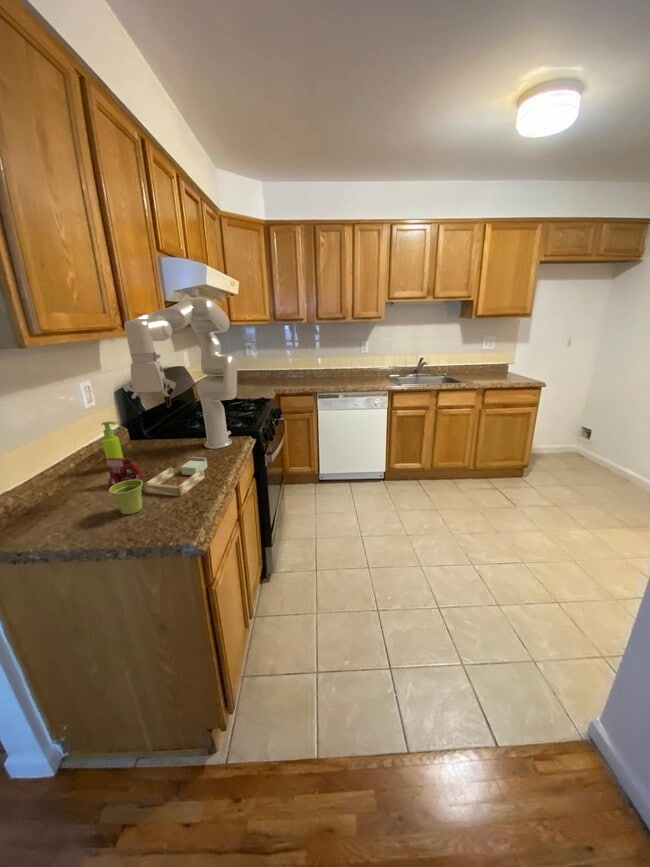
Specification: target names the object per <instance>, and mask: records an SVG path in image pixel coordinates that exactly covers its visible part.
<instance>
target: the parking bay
mask: <svg viewBox="0 0 650 867" xmlns="http://www.w3.org/2000/svg"><path fill="white" fill-rule="evenodd" d="M174 475H175V471H174V468H173V467H168V468H166V469H165V470H163V471H162V472H160V473H159V474H157V475H156V476H154V477H153V478H151V479H150V480H148V481H146V482H145V483H143V485H142V490H143V493H145V494H155V495H164V496H165V495H167V496H175V497H182V496H183V495H185V494H186V493H188V492H189V491H190V490H191V489H192V488H193V487H194V486H196V485H197V484H198V483H200V482H201V481H202V480H203V479H205V477H206V476H205V469H204V470H199V471H198V472H197V473H195V474H194V475H190V477H188V479H186V480H184V481H183V482H182V483H181V484H180V485H170V484H163V483H164V482H166V481H167V480H169V479H170V478H172V477H173V476H174Z"/></svg>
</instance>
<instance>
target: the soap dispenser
mask: <svg viewBox="0 0 650 867" xmlns="http://www.w3.org/2000/svg"><path fill="white" fill-rule="evenodd" d="M117 424H118V422H117V421H114V420H113V421H112V420H111V421H109V420H108V421H104V422H101V425H102V426H103V425H104V430H103V435H104V438H102V439H101V442H102V447H103V449H104V454H105V458H106V460H107V459H108V458H124V454H123V450H122V447H121V442H120V438H119V436H117V435H115V432H114V429H113V428H111V427H110V426H111V425H117Z"/></svg>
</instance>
